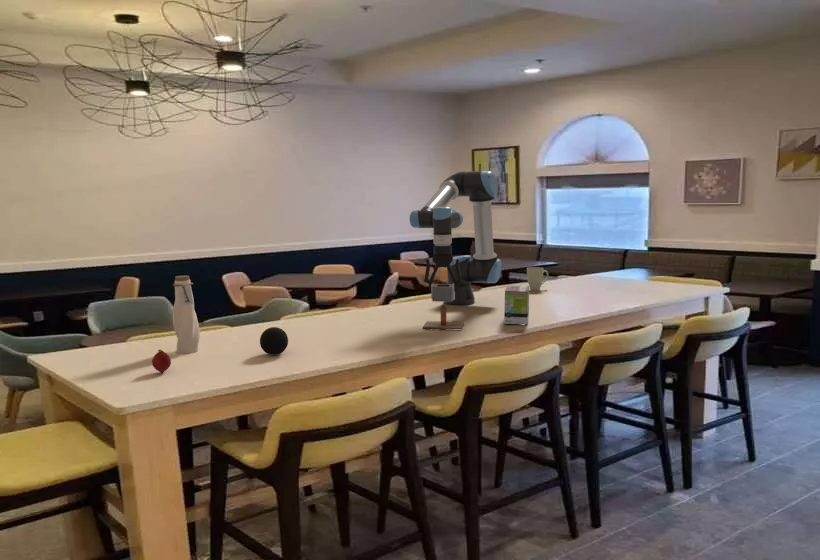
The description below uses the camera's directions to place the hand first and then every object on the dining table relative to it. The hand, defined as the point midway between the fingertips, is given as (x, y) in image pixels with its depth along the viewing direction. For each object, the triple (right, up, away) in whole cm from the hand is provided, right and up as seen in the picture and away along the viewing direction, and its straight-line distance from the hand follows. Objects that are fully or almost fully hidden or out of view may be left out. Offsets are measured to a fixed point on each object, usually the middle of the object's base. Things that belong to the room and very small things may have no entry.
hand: (443, 299), depth 281 cm
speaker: (-63, -19, -37) cm, 75 cm away
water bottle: (-96, -19, -30) cm, 102 cm away
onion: (-96, -23, -57) cm, 114 cm away
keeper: (0, -12, +2) cm, 12 cm away
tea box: (+32, -10, +9) cm, 35 cm away
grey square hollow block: (0, 0, 0) cm, 0 cm away
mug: (+55, +2, +87) cm, 103 cm away
